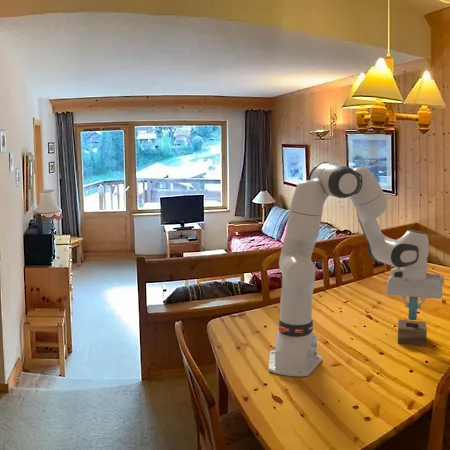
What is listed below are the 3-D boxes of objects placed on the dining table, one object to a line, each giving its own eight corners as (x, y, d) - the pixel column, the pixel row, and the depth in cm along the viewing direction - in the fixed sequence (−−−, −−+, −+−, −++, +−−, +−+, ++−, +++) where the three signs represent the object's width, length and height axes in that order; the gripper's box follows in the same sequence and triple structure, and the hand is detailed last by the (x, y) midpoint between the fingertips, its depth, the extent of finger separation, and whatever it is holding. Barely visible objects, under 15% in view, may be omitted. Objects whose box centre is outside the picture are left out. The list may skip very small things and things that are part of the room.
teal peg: (416, 320, 201) (418, 295, 200) (408, 319, 202) (409, 294, 201) (416, 318, 204) (417, 293, 203) (408, 317, 205) (409, 292, 203)
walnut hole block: (425, 346, 199) (426, 331, 198) (397, 343, 202) (398, 328, 201) (424, 336, 208) (425, 322, 207) (397, 334, 211) (398, 319, 210)
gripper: (443, 272, 200) (441, 307, 202) (387, 268, 206) (385, 302, 209) (445, 276, 194) (442, 312, 196) (386, 272, 200) (385, 307, 203)
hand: (413, 307), depth 203 cm, fingers closed on teal peg, 3 cm apart
